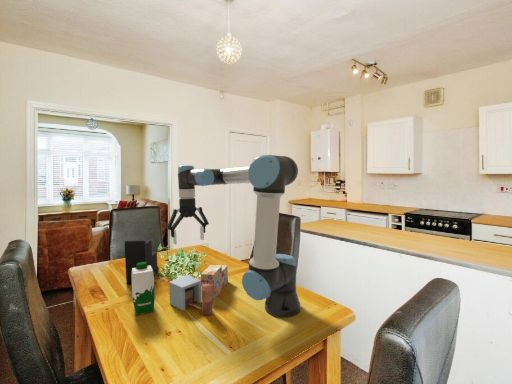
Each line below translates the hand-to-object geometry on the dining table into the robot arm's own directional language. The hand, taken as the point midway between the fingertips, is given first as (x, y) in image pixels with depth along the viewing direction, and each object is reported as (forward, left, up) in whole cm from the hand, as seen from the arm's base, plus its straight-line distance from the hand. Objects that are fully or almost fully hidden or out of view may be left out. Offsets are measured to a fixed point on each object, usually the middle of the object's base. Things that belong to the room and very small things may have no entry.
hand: (189, 241), depth 134 cm
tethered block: (-14, +8, -26) cm, 30 cm away
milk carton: (+2, +23, -26) cm, 35 cm away
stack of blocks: (-7, -10, -26) cm, 29 cm away
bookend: (+40, +3, -26) cm, 48 cm away
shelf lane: (-7, +8, -26) cm, 28 cm away
